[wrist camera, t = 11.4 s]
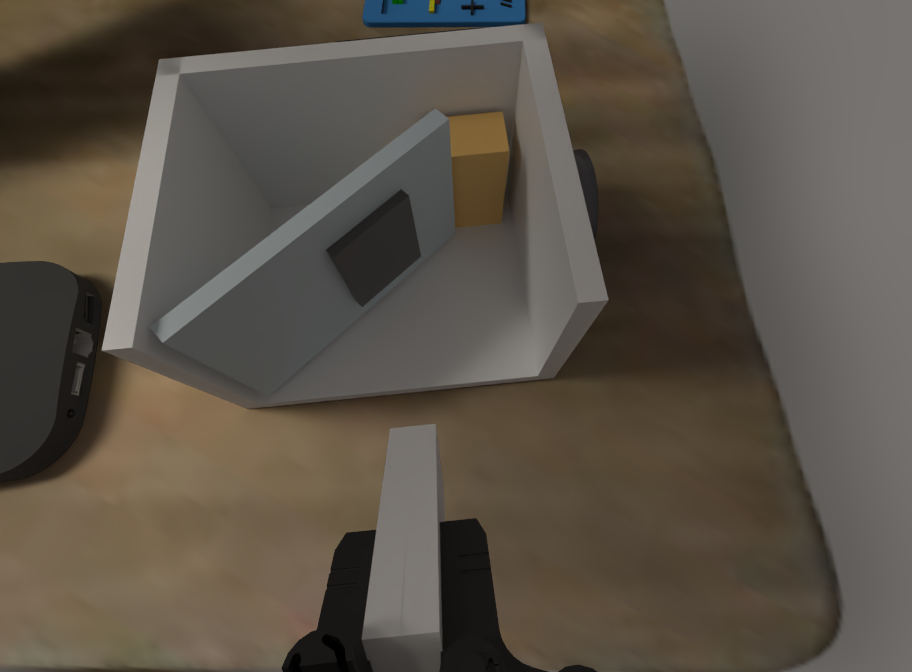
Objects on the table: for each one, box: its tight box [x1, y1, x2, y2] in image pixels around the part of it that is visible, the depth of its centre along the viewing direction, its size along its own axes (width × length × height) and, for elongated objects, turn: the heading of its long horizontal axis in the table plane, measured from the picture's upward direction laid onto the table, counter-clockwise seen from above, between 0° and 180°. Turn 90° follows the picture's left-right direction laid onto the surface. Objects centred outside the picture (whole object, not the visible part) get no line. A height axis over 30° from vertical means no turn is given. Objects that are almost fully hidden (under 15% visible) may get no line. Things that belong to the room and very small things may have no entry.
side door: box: [150, 109, 455, 396], centre depth 24 cm, size 2×16×10 cm, turn 135°
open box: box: [102, 23, 608, 409], centre depth 26 cm, size 16×22×12 cm
